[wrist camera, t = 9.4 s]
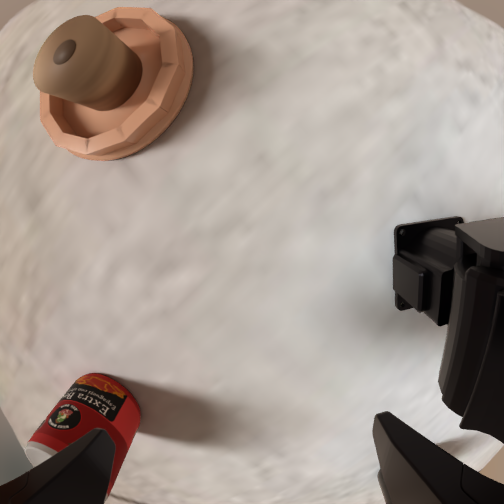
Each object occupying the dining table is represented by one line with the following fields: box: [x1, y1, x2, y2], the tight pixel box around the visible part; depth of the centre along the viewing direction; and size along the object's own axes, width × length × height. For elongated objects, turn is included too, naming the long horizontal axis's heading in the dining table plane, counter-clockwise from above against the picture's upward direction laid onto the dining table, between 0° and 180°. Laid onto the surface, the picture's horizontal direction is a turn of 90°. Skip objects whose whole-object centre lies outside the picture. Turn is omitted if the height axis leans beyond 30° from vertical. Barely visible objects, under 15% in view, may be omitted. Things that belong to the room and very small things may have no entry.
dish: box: [40, 7, 194, 161], centre depth 15 cm, size 12×12×3 cm
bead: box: [33, 15, 143, 111], centre depth 13 cm, size 5×5×6 cm
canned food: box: [24, 373, 141, 503], centre depth 18 cm, size 8×8×11 cm
